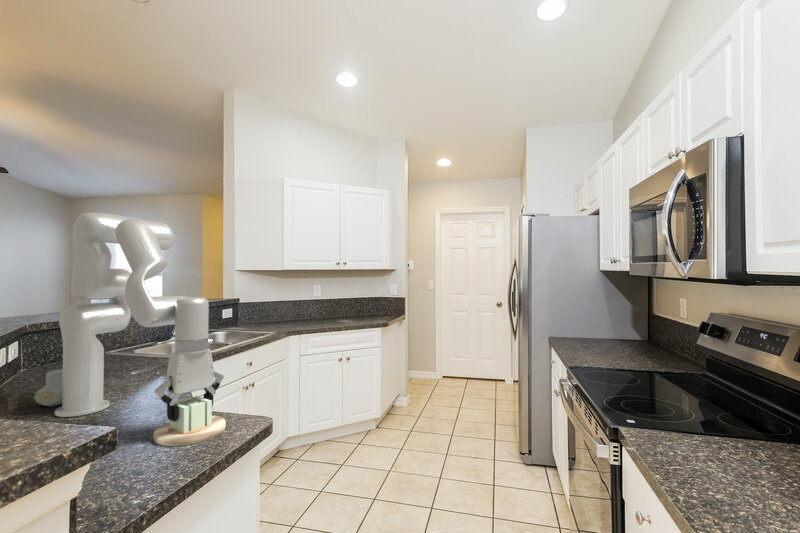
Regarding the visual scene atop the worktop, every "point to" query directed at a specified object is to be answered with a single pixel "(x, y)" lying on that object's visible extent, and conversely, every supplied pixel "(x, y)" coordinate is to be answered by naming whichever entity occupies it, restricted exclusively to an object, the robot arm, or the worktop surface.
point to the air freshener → (51, 389)
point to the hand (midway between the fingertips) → (191, 414)
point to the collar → (192, 415)
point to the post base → (176, 438)
